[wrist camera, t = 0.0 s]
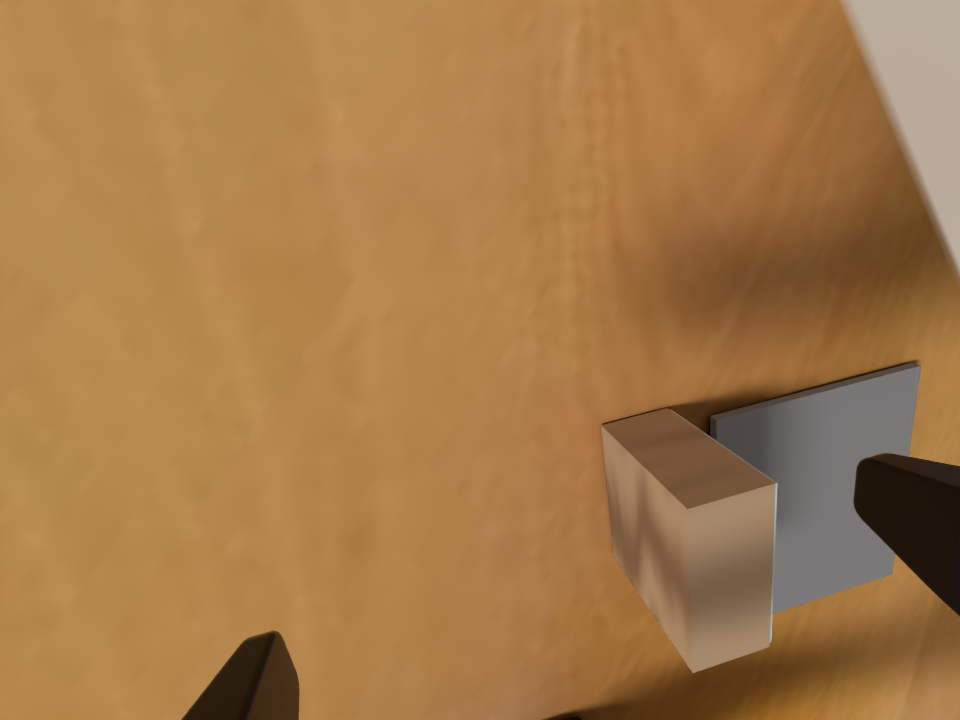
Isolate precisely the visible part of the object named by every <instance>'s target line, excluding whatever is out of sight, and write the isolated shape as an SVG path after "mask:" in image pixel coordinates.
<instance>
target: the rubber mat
mask: <svg viewBox="0 0 960 720" xmlns="http://www.w3.org/2000/svg"><path fill="white" fill-rule="evenodd" d="M920 370H921V366H920V365H917V364H914V363H909V364H905V365H901V366H898V367H894V368H890V369H886V370H882V371H879V372H875V373H871V374H867V375H864V376H860V377H856V378H852V379H848V380H845V381H841V382H837V383H833V384H829V385H826V386H822V387H818V388H814V389H811V390H807V391H803V392H799V393H795V394H792V395H788V396H784V397H780V398H776V399H773V400H769V401H765V402H761V403H758V404H754V405H750V406H746V407H742V408H739V409H735V410H731V411H727V412H723V413H720V414H716V415H712V416H710V437H712V438H713V439H714V440H716V441H717V442H719V443H720V444H722V445H723V446H725V447H726V448H727V449H729V450H730V451H732V452H733V453H735V454H736V455H738V456H739V457H741V458H742V459H743V460H745V461H746V462H748V463H749V464H751V465H752V466H754V467H755V468H756V469H758V470H759V471H761V472H762V473H764V474H765V475H767V476H768V477H769V478H771V479H772V480H774V481H775V482H777V509H776V535H775V560H774V586H773V611H772V614H774V613H777V612H780V611H783V610H786V609H789V608H792V607H795V606H798V605H801V604H804V603H807V602H810V601H813V600H816V599H819V598H822V597H825V596H828V595H831V594H834V593H837V592H840V591H843V590H846V589H849V588H852V587H855V586H858V585H861V584H864V583H867V582H870V581H874V580H877V579H880V578H883V577H886V576H889V575H892V572H893V565H894V558H895V553H894V552H893V551H892V550H891V549H890V548H889V547H888V546H887V545H886V544H885V543H884V542H883V541H882V540H881V539H880V538H879V537H878V536H877V535H876V534H875V533H874V532H873V531H872V530H871V529H870V528H869V527H868V526H867V525H866V524H865V523H864V522H863V521H862V519H861V518H860V517H859V516H858V514H857V513H856V510H855V508H854V504H853V498H854V488H855V478H856V469H857V465H858V463H859V462H860V461H861V460H862V459H864V458H868V457H871V456H875V455H878V454H882V453H892V454H897V455H902V456H908V457H909V449H910V442H911V435H912V428H913V421H914V413H915V406H916V399H917V392H918V384H919V377H920Z"/></svg>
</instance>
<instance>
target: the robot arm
mask: <svg viewBox="0 0 960 720" xmlns="http://www.w3.org/2000/svg"><path fill="white" fill-rule="evenodd" d="M853 504H854V508H855V510H856V513H857V514H858V516H859V517H860V518H861V519H862V521H863V522H864V523H865V524H866V525H867V526H868V527H869V528H870V529H871V530H872V531H873V532H874V533H875V534H876V535H877V536H878V537H879V538H880V539H881V540H882V541H883V542H884V543H885V544H886V545H887V546H888V547H889V548H890V549H891V550H892V551H893V552H894V553H895V554H896V555H897V556H898V557H899V558H900V559H901V560H902V561H903V562H904V563H905V564H906V565H907V566H908V567H909V568H910V569H911V570H912V571H913V572H914V573H915V574H916V575H917V576H918V577H919V578H920V579H921V580H922V581H923V582H924V583H925V584H926V585H927V586H928V587H929V588H930V589H931V590H932V591H933V592H934V593H935V594H936V595H937V596H938V597H939V598H940V599H941V600H943V601H944V602H945V603H946V604H947V605H948V606H949V607H950V608H951V609H952V610H953V611H955V612H956V613H957V614H958V615H959V616H960V466H955V465H950V464H944V463H939V462H934V461H929V460H923V459H918V458H913V457H908V456H902V455H897V454H892V453H882V454H878V455H875V456H871V457H868V458H864V459H862V460H861V461H860V462H859V463H858V465H857V469H856V478H855V488H854V498H853ZM182 720H299V681H298V676H297V672H296V670H295V667H294V665H293V662H292V660H291V657H290V655H289V652H288V650H287V647H286V645H285V642H284V640H283V638H282V636H281V634H280V633H279V632H277V631H270V632H266V633H263V634H260V635H256V636H253V637H250V638H248V639H246V640H245V641H243V642H242V643H241V645H240V646H239V647H238V648H237V650H236V651H235V652H234V653H233V655H232V656H231V657H230V658H229V660H228V661H227V662H226V664H225V665H224V666H223V667H222V669H221V670H220V671H219V672H218V674H217V675H216V676H215V678H214V679H213V680H212V681H211V683H210V684H209V685H208V686H207V688H206V689H205V690H204V692H203V693H202V694H201V695H200V697H199V698H198V699H197V700H196V702H195V703H194V704H193V706H192V707H191V708H190V709H189V711H188V712H187V713H186V714H185V716H184V717H183V718H182ZM571 720H582V719H581V718H573V719H571Z"/></svg>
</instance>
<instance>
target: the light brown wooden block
mask: <svg viewBox="0 0 960 720" xmlns="http://www.w3.org/2000/svg"><path fill="white" fill-rule="evenodd" d="M601 430H602V440H603V450H604V461H605V471H606V481H607V492H608V502H609V513H610V523H611V533H612V544H613V554H614V558H615V560H616V561H617V563H618V564H619V566H620V567H621V568H622V570H623V571H624V573H625V574H626V576H627V577H628V579H629V580H630V582H631V583H632V585H633V586H634V588H635V589H636V591H637V592H638V593H639V595H640V596H641V598H642V599H643V601H644V602H645V604H646V605H647V607H648V608H649V610H650V611H651V613H652V614H653V616H654V617H655V618H656V620H657V621H658V623H659V624H660V626H661V627H662V629H663V630H664V632H665V633H666V635H667V636H668V638H669V639H670V640H671V642H672V643H673V645H674V646H675V648H676V649H677V651H678V652H679V654H680V655H681V657H682V658H683V660H684V661H685V663H686V664H687V665H688V667H689V668H690V670H691V671H692V673H695V672H698V671H701V670H704V669H707V668H710V667H713V666H716V665H719V664H721V663H724V662H727V661H730V660H733V659H736V658H739V657H742V656H745V655H748V654H751V653H753V652H756V651H759V650H762V649H765V648H768V647H769V645H770V642H771V637H772V611H773V586H774V560H775V535H776V509H777V482H775V481H774V480H772V479H771V478H769V477H768V476H767V475H765V474H764V473H762V472H761V471H759V470H758V469H756V468H755V467H754V466H752V465H751V464H749V463H748V462H746V461H745V460H743V459H742V458H741V457H739V456H738V455H736V454H735V453H733V452H732V451H730V450H729V449H727V448H726V447H725V446H723V445H722V444H720V443H719V442H717V441H716V440H714V439H713V438H712V437H710V436H709V435H707V434H706V433H704V432H703V431H701V430H700V429H699V428H697V427H696V426H694V425H693V424H691V423H690V422H688V421H687V420H686V419H684V418H683V417H681V416H680V415H678V414H677V413H675V412H674V411H673V410H669V409H668V408H665V409H662V410H658V411H654V412H650V413H646V414H642V415H638V416H635V417H631V418H627V419H623V420H619V421H615V422H611V423H608V424H604V425H601Z"/></svg>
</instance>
